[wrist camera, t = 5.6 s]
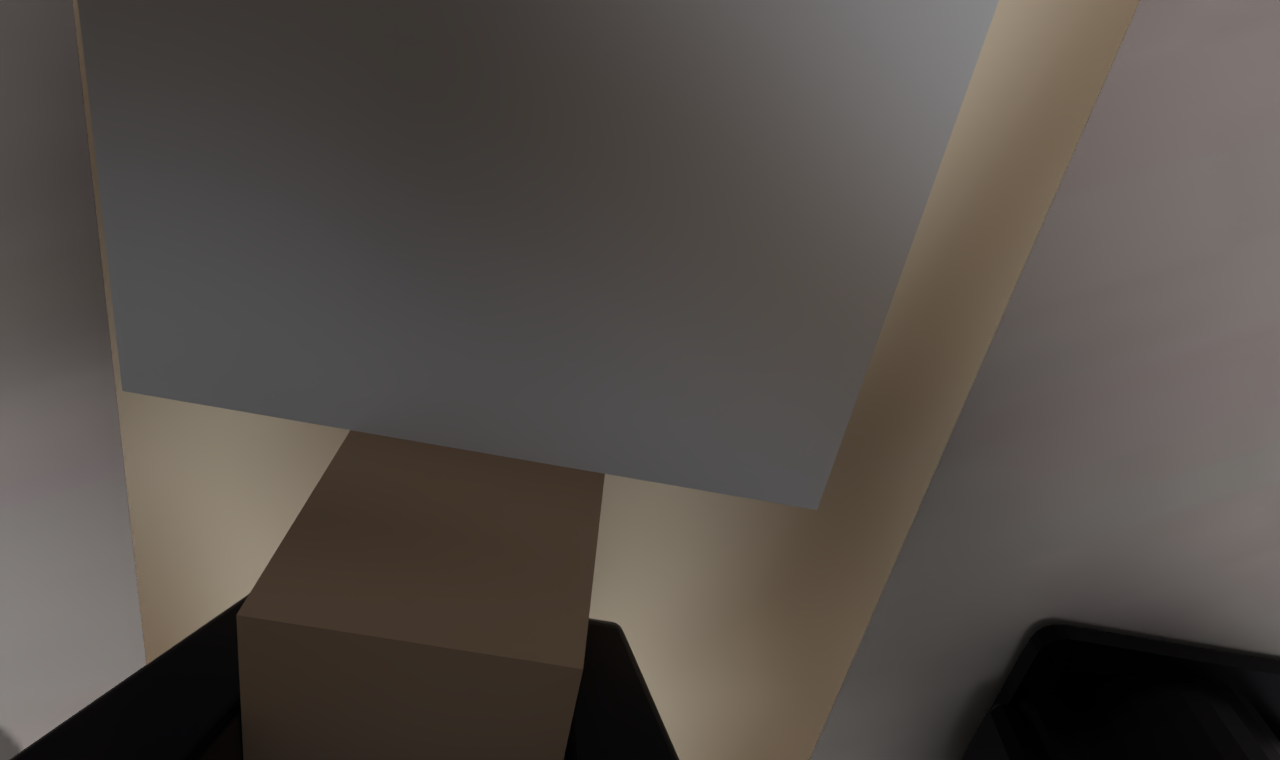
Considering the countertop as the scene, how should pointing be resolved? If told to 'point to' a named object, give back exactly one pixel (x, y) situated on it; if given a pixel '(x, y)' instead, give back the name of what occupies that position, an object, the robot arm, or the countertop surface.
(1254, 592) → the countertop surface
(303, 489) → the cutting board
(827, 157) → the brown and grey blocks
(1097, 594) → the countertop surface
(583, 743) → the robot arm
